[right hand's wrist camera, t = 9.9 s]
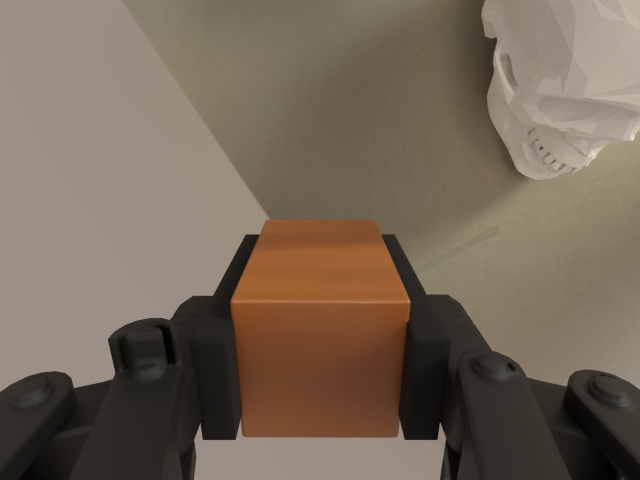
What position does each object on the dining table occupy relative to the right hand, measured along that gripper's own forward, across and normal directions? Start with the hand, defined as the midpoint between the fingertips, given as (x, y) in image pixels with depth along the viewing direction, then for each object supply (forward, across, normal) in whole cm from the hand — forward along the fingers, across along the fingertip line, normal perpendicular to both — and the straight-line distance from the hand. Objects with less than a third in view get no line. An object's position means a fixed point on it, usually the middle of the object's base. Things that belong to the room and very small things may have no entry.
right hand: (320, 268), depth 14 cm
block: (0, 0, 0) cm, 0 cm away
